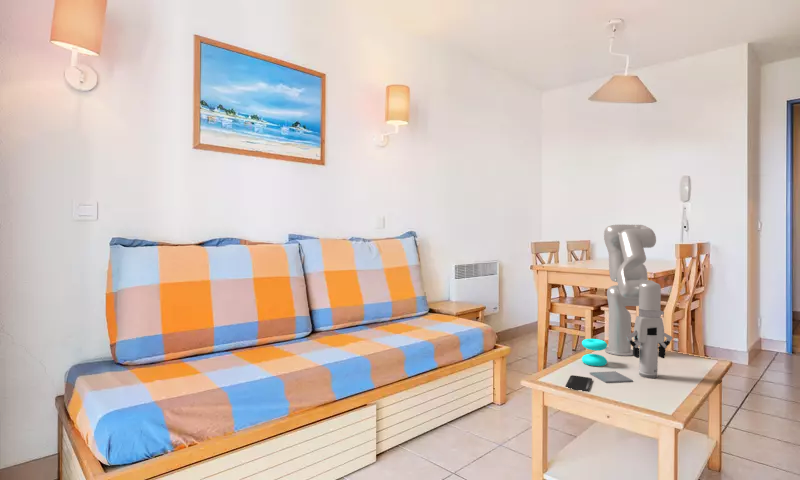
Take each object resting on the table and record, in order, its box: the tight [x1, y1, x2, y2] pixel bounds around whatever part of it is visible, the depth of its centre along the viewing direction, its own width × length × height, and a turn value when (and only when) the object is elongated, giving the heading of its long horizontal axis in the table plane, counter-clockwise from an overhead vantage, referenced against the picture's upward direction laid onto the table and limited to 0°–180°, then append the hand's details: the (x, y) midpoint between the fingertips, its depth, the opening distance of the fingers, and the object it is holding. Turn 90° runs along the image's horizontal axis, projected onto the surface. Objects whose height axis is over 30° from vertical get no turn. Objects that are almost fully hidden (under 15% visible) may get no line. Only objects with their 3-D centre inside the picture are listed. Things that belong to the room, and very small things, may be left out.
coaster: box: [589, 370, 634, 384], centre depth 177 cm, size 11×11×1 cm
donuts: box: [581, 338, 608, 367], centre depth 196 cm, size 10×10×10 cm
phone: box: [565, 374, 593, 392], centre depth 170 cm, size 8×1×15 cm
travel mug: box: [638, 328, 659, 379], centre depth 179 cm, size 6×7×20 cm
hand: (648, 357), depth 179 cm, fingers open, 9 cm apart
